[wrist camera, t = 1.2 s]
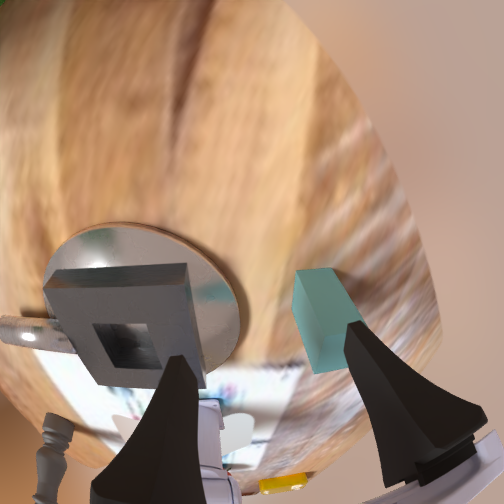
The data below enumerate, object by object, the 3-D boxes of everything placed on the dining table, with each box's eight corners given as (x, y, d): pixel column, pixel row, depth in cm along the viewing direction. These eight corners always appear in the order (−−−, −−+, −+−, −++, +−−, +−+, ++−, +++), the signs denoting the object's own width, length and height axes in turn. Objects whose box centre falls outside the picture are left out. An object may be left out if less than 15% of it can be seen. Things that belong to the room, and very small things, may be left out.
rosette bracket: (241, 373, 27) (246, 405, 24) (49, 367, 24) (40, 391, 21) (235, 212, 18) (241, 240, 15) (-18, 240, 15) (-41, 262, 12)
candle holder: (70, 430, 35) (57, 532, 14) (43, 415, 32) (25, 520, 11) (78, 425, 33) (65, 539, 12) (49, 409, 31) (29, 526, 9)
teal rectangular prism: (323, 305, 23) (352, 366, 17) (291, 309, 23) (313, 374, 17) (331, 267, 21) (368, 328, 15) (295, 270, 21) (324, 336, 15)
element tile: (257, 478, 60) (259, 491, 56) (306, 470, 61) (309, 482, 57) (260, 485, 68) (261, 496, 64) (302, 478, 69) (304, 488, 65)
